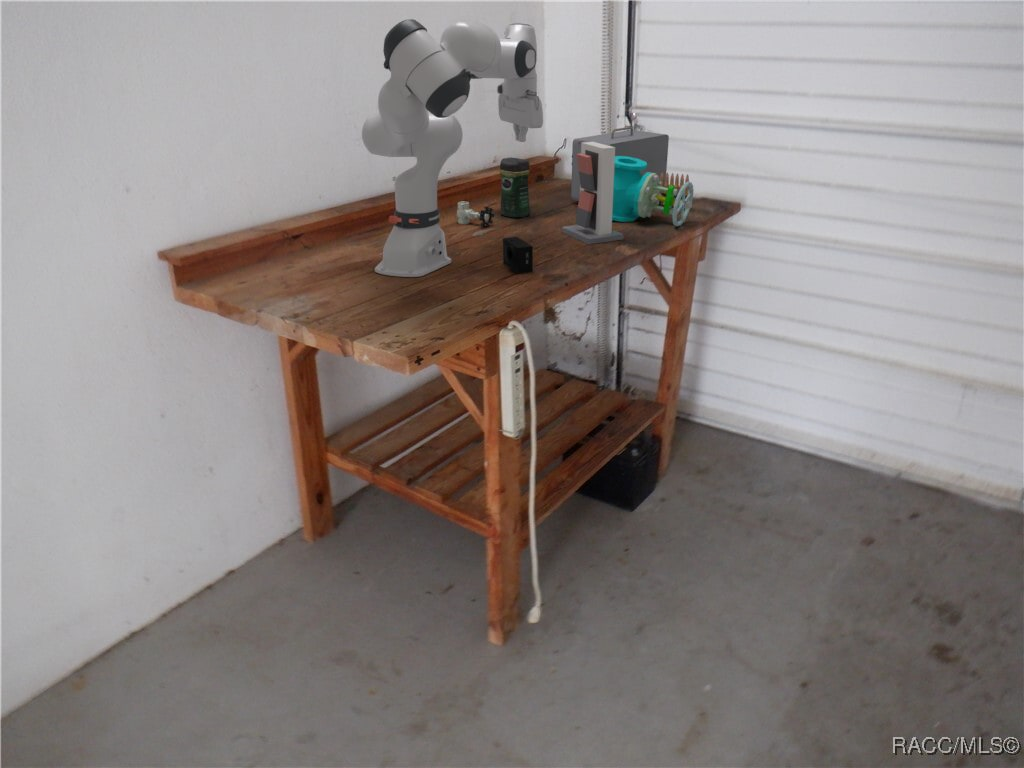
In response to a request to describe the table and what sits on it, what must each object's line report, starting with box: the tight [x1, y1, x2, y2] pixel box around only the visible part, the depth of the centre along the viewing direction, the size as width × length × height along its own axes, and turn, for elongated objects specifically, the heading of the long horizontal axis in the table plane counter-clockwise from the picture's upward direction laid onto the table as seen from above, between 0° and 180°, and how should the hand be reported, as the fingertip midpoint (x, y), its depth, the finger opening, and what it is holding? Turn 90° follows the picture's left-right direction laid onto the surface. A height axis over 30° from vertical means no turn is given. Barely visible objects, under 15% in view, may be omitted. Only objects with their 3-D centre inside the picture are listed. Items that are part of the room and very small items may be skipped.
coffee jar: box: [499, 156, 531, 219], centre depth 267 cm, size 10×8×19 cm
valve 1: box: [456, 200, 495, 228], centre depth 259 cm, size 7×7×12 cm
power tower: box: [561, 142, 624, 245], centre depth 241 cm, size 12×16×27 cm
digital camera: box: [502, 236, 534, 274], centre depth 217 cm, size 10×5×7 cm, turn 23°
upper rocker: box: [577, 153, 595, 191], centre depth 237 cm, size 1×6×10 cm, turn 26°
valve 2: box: [612, 156, 695, 227], centre depth 259 cm, size 14×18×30 cm
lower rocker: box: [574, 190, 595, 228], centre depth 242 cm, size 1×6×10 cm, turn 27°
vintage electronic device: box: [570, 126, 670, 202], centre depth 285 cm, size 32×18×25 cm, turn 133°
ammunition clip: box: [658, 171, 690, 211], centre depth 275 cm, size 11×2×12 cm, turn 60°
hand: (520, 141), depth 227 cm, fingers closed
